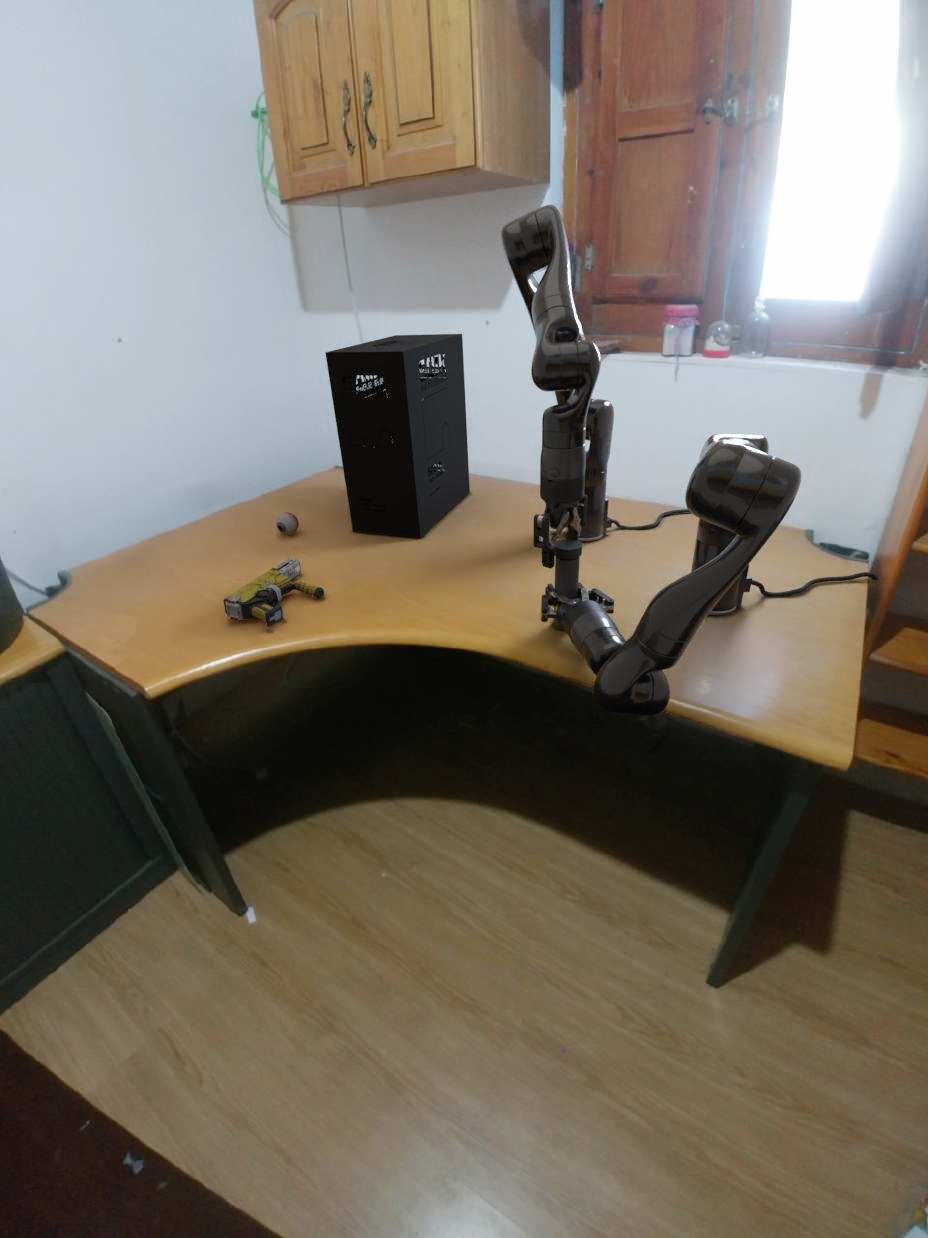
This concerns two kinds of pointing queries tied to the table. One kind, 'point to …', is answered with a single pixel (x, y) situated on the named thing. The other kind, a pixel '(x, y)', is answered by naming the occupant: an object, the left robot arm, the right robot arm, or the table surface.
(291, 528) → the eyeball
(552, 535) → the left robot arm
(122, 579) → the table surface
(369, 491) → the cardboard box
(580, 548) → the lid
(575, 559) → the grey cylindrical tube
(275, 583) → the toy gun
